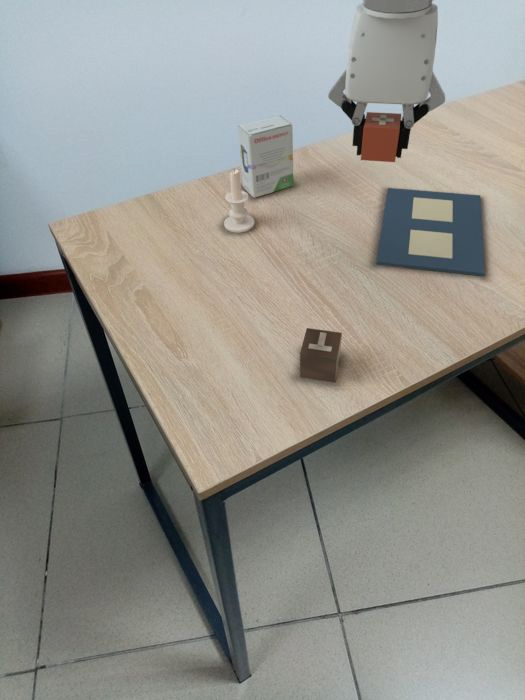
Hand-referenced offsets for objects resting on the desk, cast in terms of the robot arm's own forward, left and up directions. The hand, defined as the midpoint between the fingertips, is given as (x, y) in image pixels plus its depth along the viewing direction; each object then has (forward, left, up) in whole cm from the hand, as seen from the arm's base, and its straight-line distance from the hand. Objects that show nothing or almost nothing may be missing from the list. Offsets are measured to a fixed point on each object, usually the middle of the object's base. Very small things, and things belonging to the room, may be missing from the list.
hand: (379, 150), depth 71 cm
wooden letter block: (+3, +25, -17) cm, 30 cm away
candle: (+22, -5, -18) cm, 29 cm away
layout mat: (-10, -9, -17) cm, 22 cm away
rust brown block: (0, 0, 0) cm, 0 cm away
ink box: (+20, -18, -18) cm, 32 cm away
